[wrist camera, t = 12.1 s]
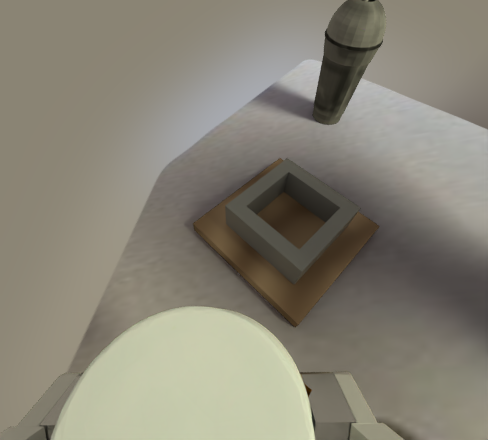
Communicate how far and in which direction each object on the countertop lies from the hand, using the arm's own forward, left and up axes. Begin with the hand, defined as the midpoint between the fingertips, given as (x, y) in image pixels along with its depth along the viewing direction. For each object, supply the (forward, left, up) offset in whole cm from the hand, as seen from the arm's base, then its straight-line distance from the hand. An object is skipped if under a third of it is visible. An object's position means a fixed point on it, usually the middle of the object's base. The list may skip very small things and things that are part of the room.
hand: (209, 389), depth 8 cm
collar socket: (+6, -15, -17) cm, 24 cm away
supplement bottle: (-1, 0, -5) cm, 5 cm away
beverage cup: (+16, -37, -17) cm, 44 cm away
